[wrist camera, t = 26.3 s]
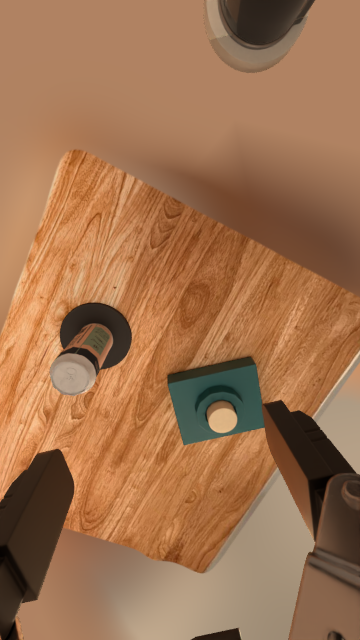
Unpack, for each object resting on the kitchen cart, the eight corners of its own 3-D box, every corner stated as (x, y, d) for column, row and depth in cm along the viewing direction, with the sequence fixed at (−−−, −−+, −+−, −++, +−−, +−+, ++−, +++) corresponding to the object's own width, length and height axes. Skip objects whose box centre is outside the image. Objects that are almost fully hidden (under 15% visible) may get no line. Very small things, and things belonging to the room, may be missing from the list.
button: (231, 397, 41) (234, 405, 39) (236, 420, 42) (239, 429, 40) (204, 403, 41) (206, 411, 39) (209, 426, 42) (211, 435, 40)
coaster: (120, 295, 40) (120, 296, 39) (139, 359, 43) (138, 361, 42) (51, 311, 40) (49, 312, 39) (74, 374, 43) (73, 376, 42)
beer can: (78, 350, 41) (44, 396, 30) (81, 319, 40) (47, 354, 28) (111, 356, 42) (91, 402, 30) (115, 325, 40) (96, 361, 29)
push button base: (250, 356, 43) (260, 369, 39) (260, 416, 47) (270, 435, 42) (167, 375, 44) (167, 390, 39) (182, 433, 47) (184, 454, 42)
